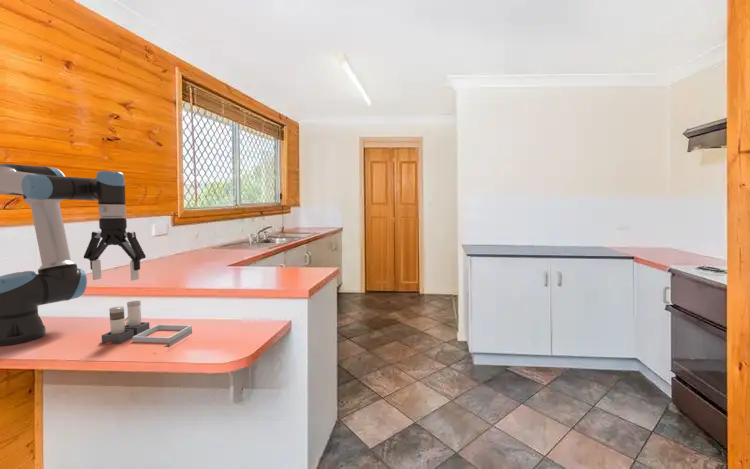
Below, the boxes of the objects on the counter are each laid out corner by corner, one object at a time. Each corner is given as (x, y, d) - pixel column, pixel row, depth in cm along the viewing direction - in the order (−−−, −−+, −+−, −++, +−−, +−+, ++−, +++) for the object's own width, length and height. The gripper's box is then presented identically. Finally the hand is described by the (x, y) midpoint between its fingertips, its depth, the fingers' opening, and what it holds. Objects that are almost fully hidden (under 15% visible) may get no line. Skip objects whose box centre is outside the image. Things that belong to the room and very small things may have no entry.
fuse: (125, 333, 131) (124, 303, 130) (134, 329, 135) (132, 300, 134) (136, 333, 130) (135, 303, 129) (144, 329, 134) (143, 300, 134)
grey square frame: (132, 345, 123) (132, 336, 122) (158, 332, 136) (158, 324, 135) (169, 346, 122) (169, 338, 121) (192, 333, 135) (191, 325, 135)
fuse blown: (107, 341, 123) (106, 309, 122) (117, 337, 127) (115, 306, 126) (119, 341, 122) (117, 309, 122) (128, 337, 126) (126, 306, 126)
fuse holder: (98, 348, 120) (97, 336, 120) (134, 331, 137) (133, 321, 136) (118, 348, 120) (117, 337, 120) (151, 332, 136) (151, 321, 136)
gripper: (67, 217, 119) (71, 281, 120) (140, 217, 117) (143, 282, 119) (87, 217, 126) (90, 276, 128) (155, 217, 125) (158, 277, 126)
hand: (115, 279), depth 123 cm, fingers open, 13 cm apart
